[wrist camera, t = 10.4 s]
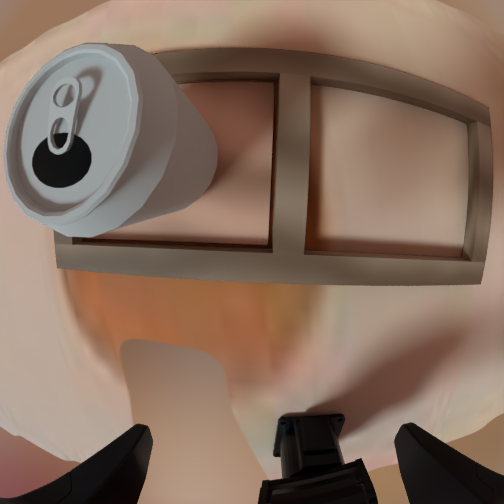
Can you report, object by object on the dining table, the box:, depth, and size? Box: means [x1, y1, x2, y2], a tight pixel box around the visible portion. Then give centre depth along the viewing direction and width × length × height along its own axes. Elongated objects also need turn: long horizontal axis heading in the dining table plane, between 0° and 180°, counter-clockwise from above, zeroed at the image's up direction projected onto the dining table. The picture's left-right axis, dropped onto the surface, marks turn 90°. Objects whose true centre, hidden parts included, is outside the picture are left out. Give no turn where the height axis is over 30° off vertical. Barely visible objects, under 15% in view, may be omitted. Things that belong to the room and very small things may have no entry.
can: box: [3, 43, 218, 237], centre depth 12 cm, size 8×8×12 cm
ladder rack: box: [54, 48, 493, 286], centre depth 17 cm, size 16×36×2 cm, turn 88°
